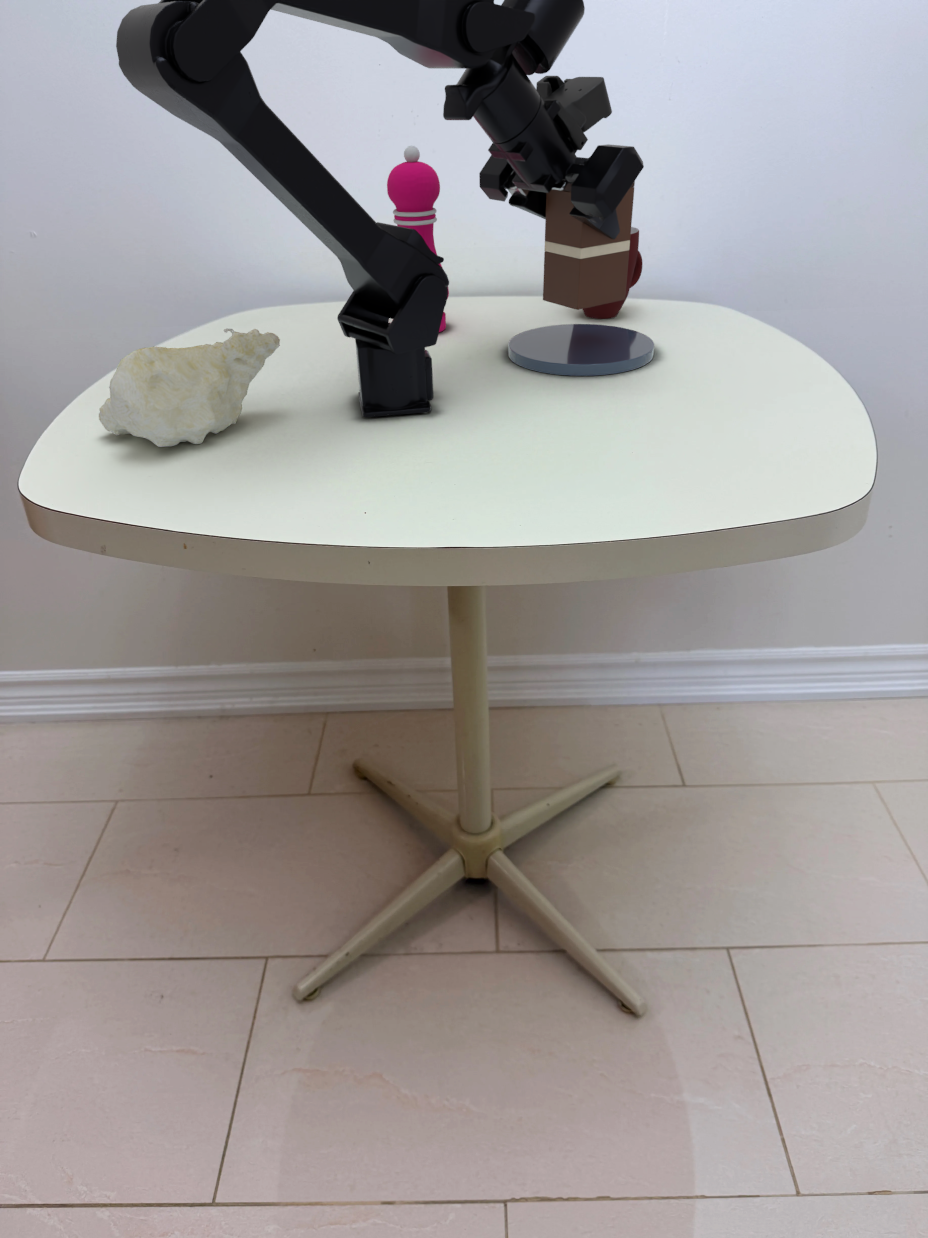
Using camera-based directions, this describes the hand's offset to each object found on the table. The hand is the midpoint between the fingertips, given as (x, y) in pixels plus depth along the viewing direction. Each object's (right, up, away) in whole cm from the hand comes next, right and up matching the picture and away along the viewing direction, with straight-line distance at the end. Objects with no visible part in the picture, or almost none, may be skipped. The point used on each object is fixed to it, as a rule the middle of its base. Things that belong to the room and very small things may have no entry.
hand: (596, 231), depth 94 cm
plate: (-1, -11, +6) cm, 13 cm away
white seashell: (-38, -23, -10) cm, 46 cm away
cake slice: (-1, -6, +3) cm, 7 cm away
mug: (+4, -2, +21) cm, 21 cm away
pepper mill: (-19, -5, +17) cm, 26 cm away
